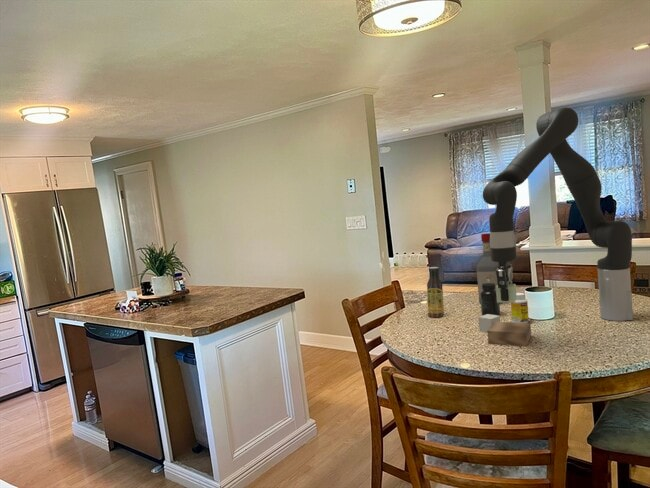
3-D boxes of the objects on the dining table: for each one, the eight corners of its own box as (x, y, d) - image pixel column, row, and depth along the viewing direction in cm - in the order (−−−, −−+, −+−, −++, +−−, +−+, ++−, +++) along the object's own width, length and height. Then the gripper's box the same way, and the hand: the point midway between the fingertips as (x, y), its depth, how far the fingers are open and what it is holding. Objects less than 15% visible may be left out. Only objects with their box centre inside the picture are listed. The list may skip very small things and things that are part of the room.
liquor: (501, 305, 186) (496, 234, 184) (478, 305, 190) (473, 235, 188) (503, 300, 194) (497, 232, 192) (481, 300, 198) (475, 233, 196)
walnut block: (531, 335, 143) (530, 323, 143) (526, 345, 134) (525, 332, 134) (495, 333, 149) (494, 321, 149) (488, 343, 140) (487, 330, 140)
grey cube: (501, 330, 153) (499, 315, 152) (492, 333, 150) (491, 319, 149) (488, 327, 157) (487, 314, 156) (479, 331, 154) (478, 317, 153)
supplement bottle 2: (523, 324, 155) (520, 296, 155) (508, 322, 160) (506, 294, 159) (532, 321, 159) (530, 293, 158) (518, 319, 163) (515, 291, 162)
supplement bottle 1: (492, 311, 178) (489, 281, 177) (504, 314, 171) (501, 284, 170) (478, 314, 176) (475, 284, 175) (489, 317, 169) (486, 286, 168)
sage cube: (516, 299, 142) (515, 283, 141) (513, 302, 137) (512, 286, 137) (500, 299, 144) (499, 283, 144) (496, 302, 140) (495, 286, 140)
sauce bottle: (427, 318, 178) (422, 269, 177) (429, 314, 184) (425, 266, 183) (444, 317, 176) (439, 268, 174) (446, 314, 181) (441, 265, 180)
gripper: (511, 247, 132) (515, 304, 133) (519, 242, 144) (523, 294, 145) (485, 248, 136) (489, 303, 137) (495, 243, 148) (498, 294, 149)
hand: (506, 298), depth 141 cm, fingers closed on sage cube, 5 cm apart
